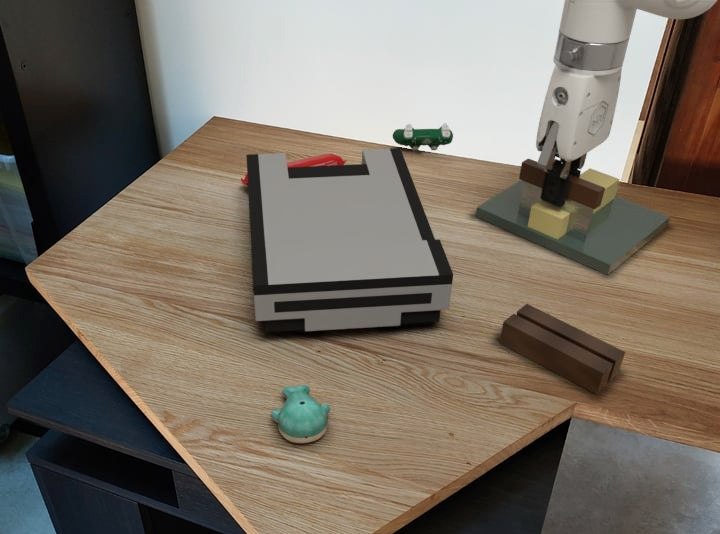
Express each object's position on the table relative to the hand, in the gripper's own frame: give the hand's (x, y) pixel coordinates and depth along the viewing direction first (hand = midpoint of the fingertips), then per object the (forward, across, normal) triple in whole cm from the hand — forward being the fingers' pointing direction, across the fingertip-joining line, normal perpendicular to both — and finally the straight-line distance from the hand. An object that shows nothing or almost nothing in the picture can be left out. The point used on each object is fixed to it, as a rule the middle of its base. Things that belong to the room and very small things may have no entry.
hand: (557, 198), depth 98 cm
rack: (+6, -21, -14) cm, 26 cm away
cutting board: (+6, +5, 0) cm, 8 cm away
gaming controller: (+6, +9, +28) cm, 30 cm away
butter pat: (+4, -1, 0) cm, 4 cm away
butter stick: (+4, +8, 0) cm, 9 cm away
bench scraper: (+4, 0, 0) cm, 4 cm away
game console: (+6, -24, +16) cm, 29 cm away
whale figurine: (+6, -47, -1) cm, 47 cm away
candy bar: (+2, -13, +35) cm, 37 cm away
